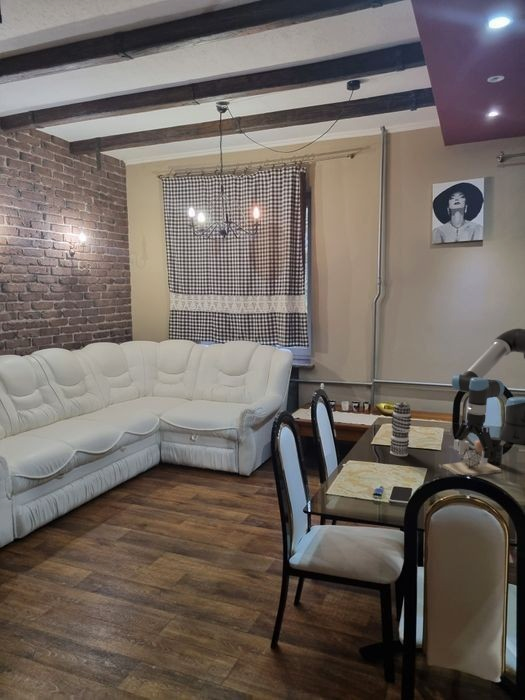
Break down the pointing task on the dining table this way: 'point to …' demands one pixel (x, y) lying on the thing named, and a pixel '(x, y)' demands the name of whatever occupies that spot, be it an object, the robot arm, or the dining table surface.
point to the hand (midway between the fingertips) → (472, 459)
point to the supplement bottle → (495, 452)
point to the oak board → (471, 468)
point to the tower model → (400, 429)
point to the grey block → (458, 446)
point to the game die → (471, 458)
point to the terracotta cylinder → (478, 447)
